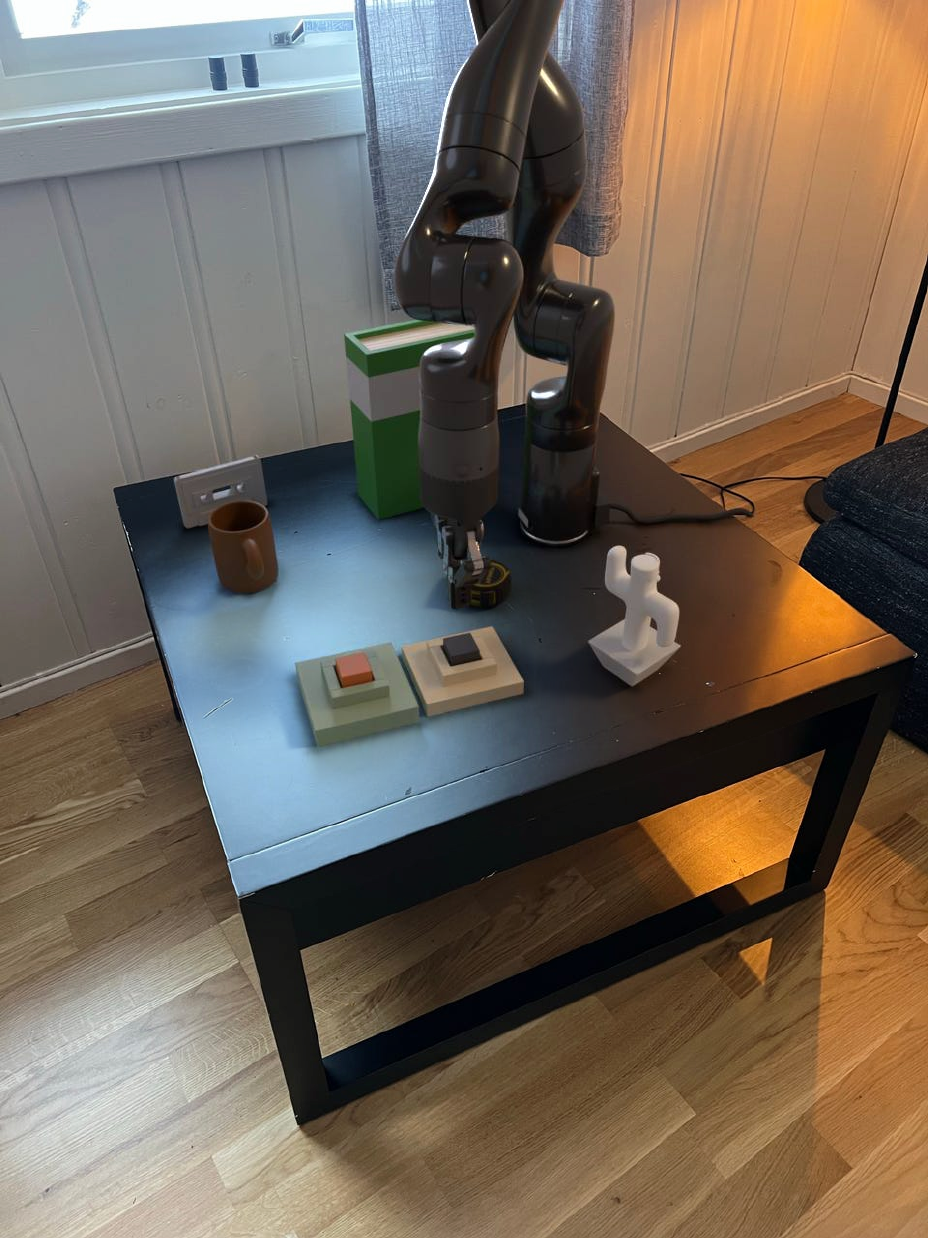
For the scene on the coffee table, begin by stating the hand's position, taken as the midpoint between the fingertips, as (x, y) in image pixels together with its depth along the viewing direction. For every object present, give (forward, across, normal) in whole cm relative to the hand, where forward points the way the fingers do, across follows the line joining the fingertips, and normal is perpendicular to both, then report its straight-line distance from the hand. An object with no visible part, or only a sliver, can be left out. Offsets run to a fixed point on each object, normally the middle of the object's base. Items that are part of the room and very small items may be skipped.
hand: (458, 604), depth 98 cm
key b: (+7, 0, +12) cm, 14 cm away
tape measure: (+10, +13, -7) cm, 18 cm away
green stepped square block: (+10, 0, +12) cm, 16 cm away
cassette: (+10, +42, +20) cm, 48 cm away
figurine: (+10, -5, -19) cm, 22 cm away
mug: (+10, +24, +19) cm, 33 cm away
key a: (+7, 0, 0) cm, 7 cm away
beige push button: (+10, 0, 0) cm, 10 cm away
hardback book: (+10, +39, -8) cm, 41 cm away
